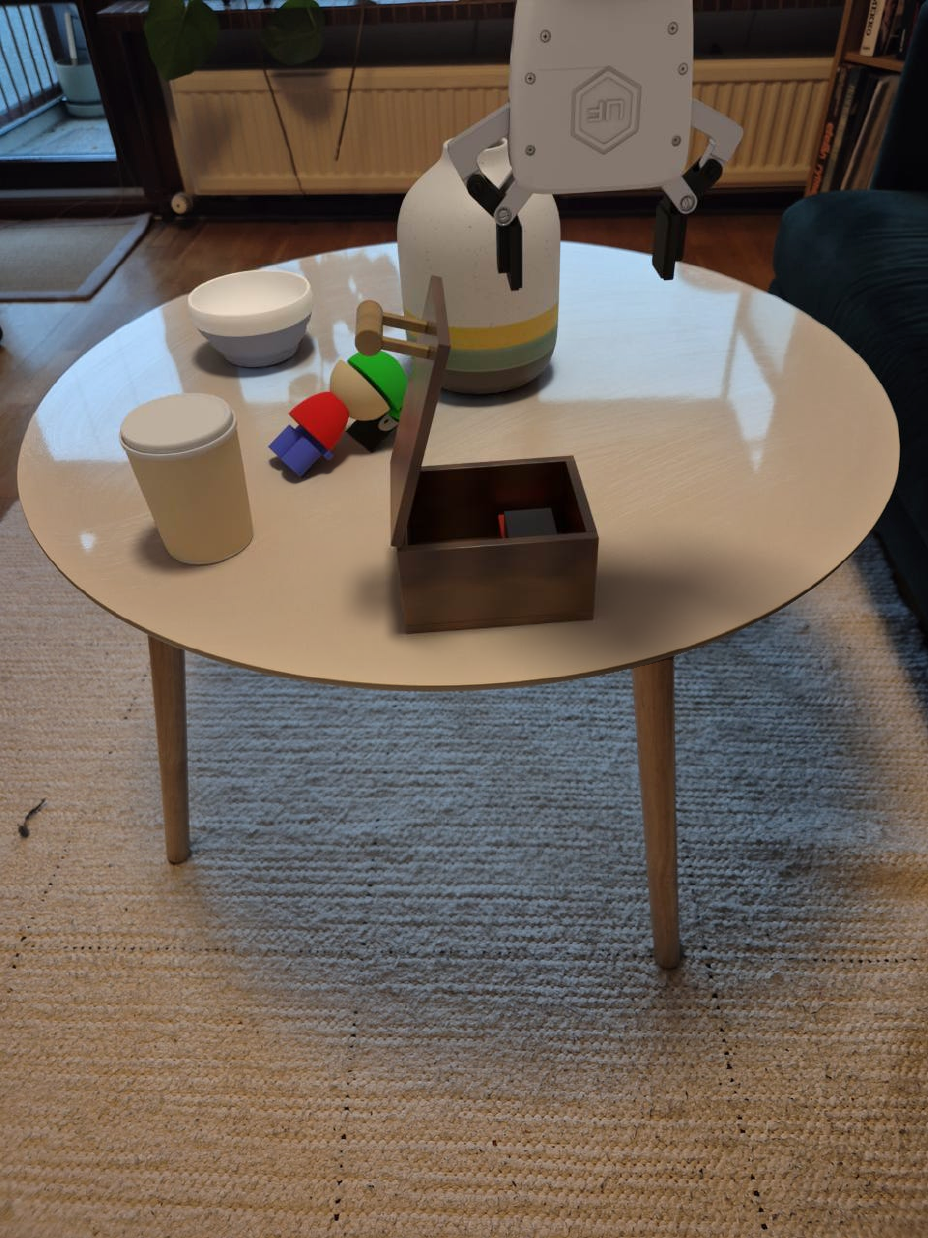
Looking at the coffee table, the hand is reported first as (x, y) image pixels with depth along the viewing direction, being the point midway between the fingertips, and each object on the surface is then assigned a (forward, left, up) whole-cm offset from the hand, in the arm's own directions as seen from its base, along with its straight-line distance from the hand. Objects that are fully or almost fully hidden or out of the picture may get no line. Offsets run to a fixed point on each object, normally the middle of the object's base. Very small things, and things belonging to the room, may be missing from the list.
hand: (588, 277), depth 57 cm
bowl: (+49, -29, -24) cm, 62 cm away
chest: (+6, +3, -24) cm, 25 cm away
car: (+3, +2, -24) cm, 24 cm away
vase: (+21, -32, -24) cm, 45 cm away
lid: (+10, +5, -9) cm, 14 cm away
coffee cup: (+32, +6, -24) cm, 41 cm away
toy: (+28, -12, -24) cm, 39 cm away
